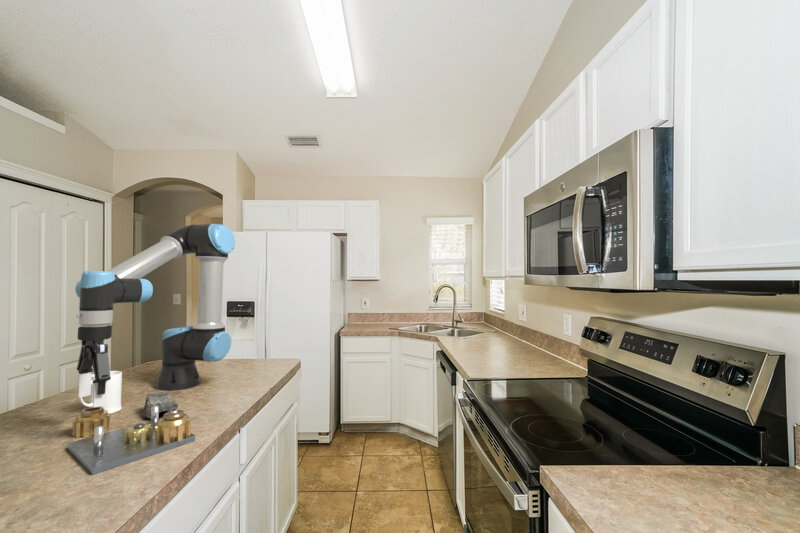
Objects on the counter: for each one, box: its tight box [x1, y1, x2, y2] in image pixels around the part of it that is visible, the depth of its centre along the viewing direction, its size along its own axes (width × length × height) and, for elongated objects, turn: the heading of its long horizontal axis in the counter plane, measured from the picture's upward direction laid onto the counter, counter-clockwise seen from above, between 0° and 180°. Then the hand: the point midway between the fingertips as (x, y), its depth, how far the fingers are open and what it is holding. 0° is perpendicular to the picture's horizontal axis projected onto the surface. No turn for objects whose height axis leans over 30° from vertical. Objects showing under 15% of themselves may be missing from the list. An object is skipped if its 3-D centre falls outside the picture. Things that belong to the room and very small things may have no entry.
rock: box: [141, 390, 179, 419], centre depth 120 cm, size 13×9×6 cm, turn 51°
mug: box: [79, 370, 123, 414], centre depth 121 cm, size 12×8×12 cm
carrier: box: [67, 405, 196, 476], centre depth 98 cm, size 22×21×8 cm
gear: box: [71, 406, 112, 439], centre depth 106 cm, size 8×8×6 cm
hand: (91, 401), depth 106 cm, fingers open, 13 cm apart
